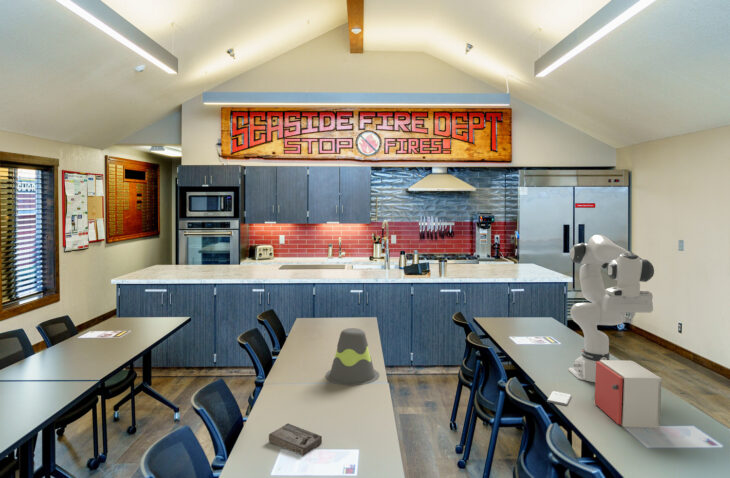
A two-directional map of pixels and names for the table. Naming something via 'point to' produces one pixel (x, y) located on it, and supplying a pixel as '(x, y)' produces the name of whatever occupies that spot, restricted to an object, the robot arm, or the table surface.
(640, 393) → the cabinet
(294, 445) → the box
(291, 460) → the table surface
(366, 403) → the table surface
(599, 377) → the door
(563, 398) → the external hard drive
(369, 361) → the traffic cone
